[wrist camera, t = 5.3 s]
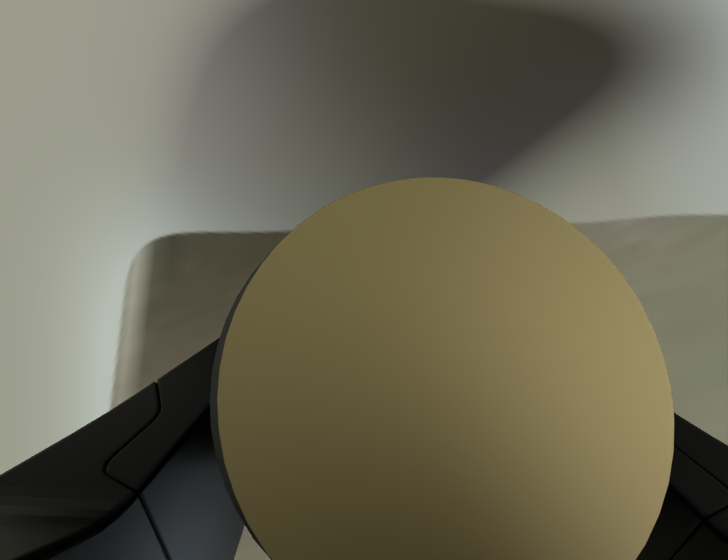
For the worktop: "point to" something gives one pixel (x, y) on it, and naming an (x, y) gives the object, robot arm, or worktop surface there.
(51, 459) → the robot arm
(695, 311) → the worktop surface
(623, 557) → the plug
